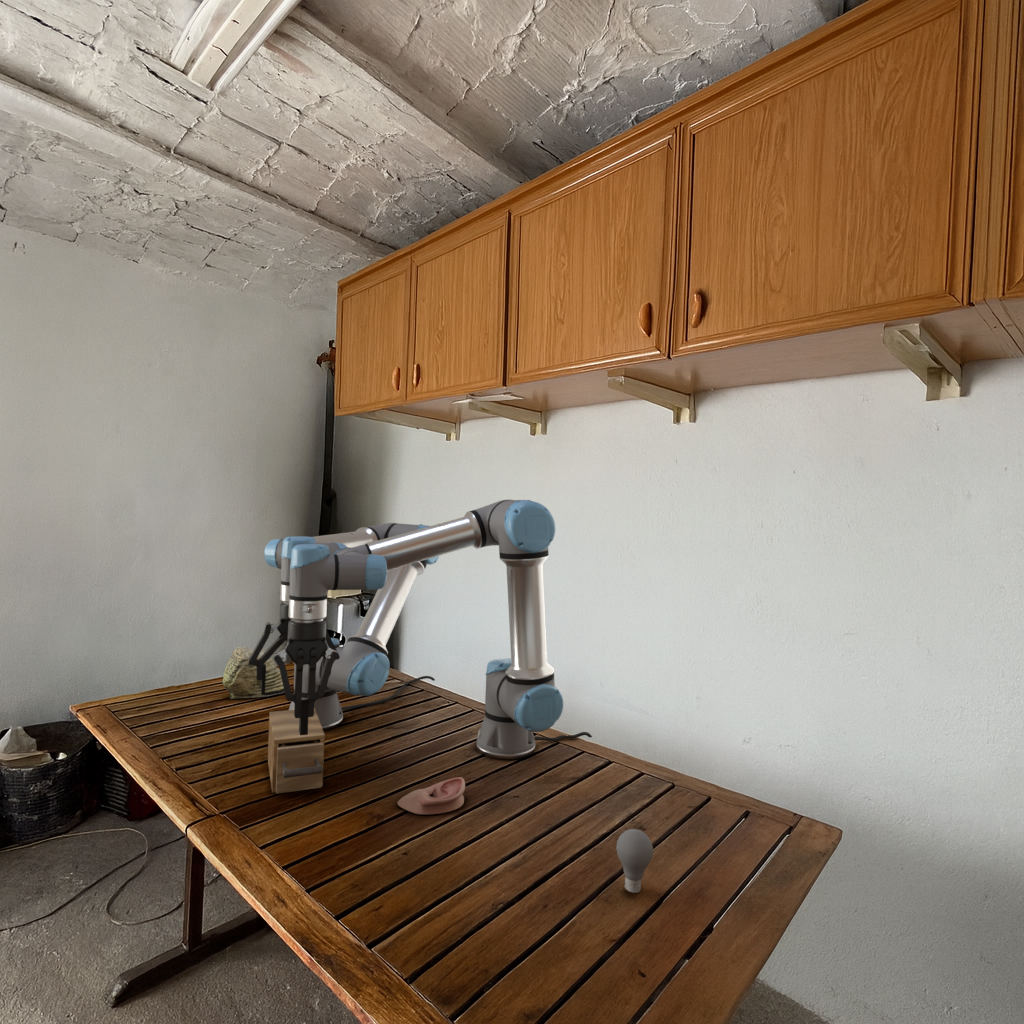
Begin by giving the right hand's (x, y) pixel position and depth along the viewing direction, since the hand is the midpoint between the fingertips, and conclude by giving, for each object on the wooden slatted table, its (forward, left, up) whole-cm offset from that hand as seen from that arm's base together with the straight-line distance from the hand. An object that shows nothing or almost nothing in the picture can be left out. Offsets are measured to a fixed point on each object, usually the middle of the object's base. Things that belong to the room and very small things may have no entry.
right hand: (303, 732), depth 131 cm
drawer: (0, -9, -14) cm, 16 cm away
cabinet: (+1, -15, -15) cm, 21 cm away
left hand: (+1, -21, +2) cm, 21 cm away
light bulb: (-50, +47, -15) cm, 71 cm away
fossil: (+10, -76, -15) cm, 78 cm away
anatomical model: (-26, +8, -15) cm, 31 cm away
